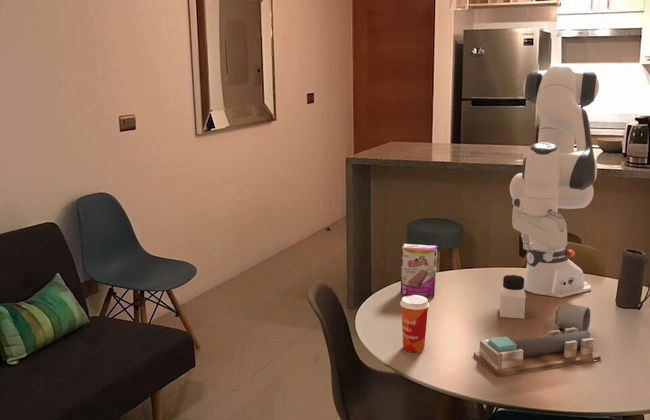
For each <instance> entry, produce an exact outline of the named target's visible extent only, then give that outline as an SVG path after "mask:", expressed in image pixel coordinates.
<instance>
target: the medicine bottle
mask: <svg viewBox="0 0 650 420" xmlns="http://www.w3.org/2000/svg"><path fill="white" fill-rule="evenodd" d="M502 279H503V280H502V281H503V282H502V287H500V288H499V302H498V304H499V306H498V310H499V316H500V318H508V319H522V320H523V319H526V305H527V304H526V303H527V295H526V290H524V277H523V276H521V275H518V274H514V273H513V274H512V273H511V274H507V275H504V276H503V278H502Z"/></svg>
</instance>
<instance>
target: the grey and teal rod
mask: <svg viewBox="0 0 650 420" xmlns="http://www.w3.org/2000/svg"><path fill="white" fill-rule="evenodd" d="M587 338H591V336H590V334H589V332H588V331H587V332H586V331H579V332H573V333H566V334H559V335H552V336H548V335H546V336H541V337H540V336H539V337H534V338H526V339H519V340H514V341H512V339H510V338H509V337H508V336H501V337H500V336H499V337H493V338H488V339H489V345H490V346H492V347H493V348H494V349H495V350H497V351H498V352H499V353H500V352H505V351H512V350H518V349H522V350H523V358H524V357H530V356H537V355H543V354H549V353H556V352H562V351H564V347H565V342H567V341H574V340H575V341H577V349H581V339H587Z"/></svg>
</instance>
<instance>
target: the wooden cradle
mask: <svg viewBox="0 0 650 420" xmlns="http://www.w3.org/2000/svg"><path fill="white" fill-rule="evenodd" d="M576 331H577V329H576V328H575V327H574V328H567V329H565V330H564V332H563V333H564V334H566V333H573V332H576ZM560 333H562V332H561V330H560V329H558V330H556V329H554V330H553V329H552V330H548V334H547V336H552V335H559V334H560ZM489 339H490V338H488V339H481V340H479V351H474V352H473V357H474V358H475V359H476V360H477V361H479V362H480V363H481V364H482V365H484V366H485V368H487V369H488V370H489V371H490V372H491V373H493V374H494V375H495V376H496V377H504V376H510V375H515V374H516V375H517V374H524V373H528V372H535V371H539V370H540V371H542V370H547V369H553V368H559V367H564V366H571V365H577V364H583V363H584V362H585V363H589V361H591V362H595V361H594V360H597V361H602V360H601V359H602V356H601V355H600V354H598V353H596V352H595V351H594V344H595V343H594V341H595V339H594V338H592V337H590V338H587V339H581V349H577V341H575V340H574V341H567V342H565V347H564V351H562V352H556V353H549V354H543V355H537V356H530V357H524V358H523V350H522V349H518V350H512V351H505V352H500V353H499V352H498V351H497V350H495V349H494V348H493V347H492V346H490V345H489Z"/></svg>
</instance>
